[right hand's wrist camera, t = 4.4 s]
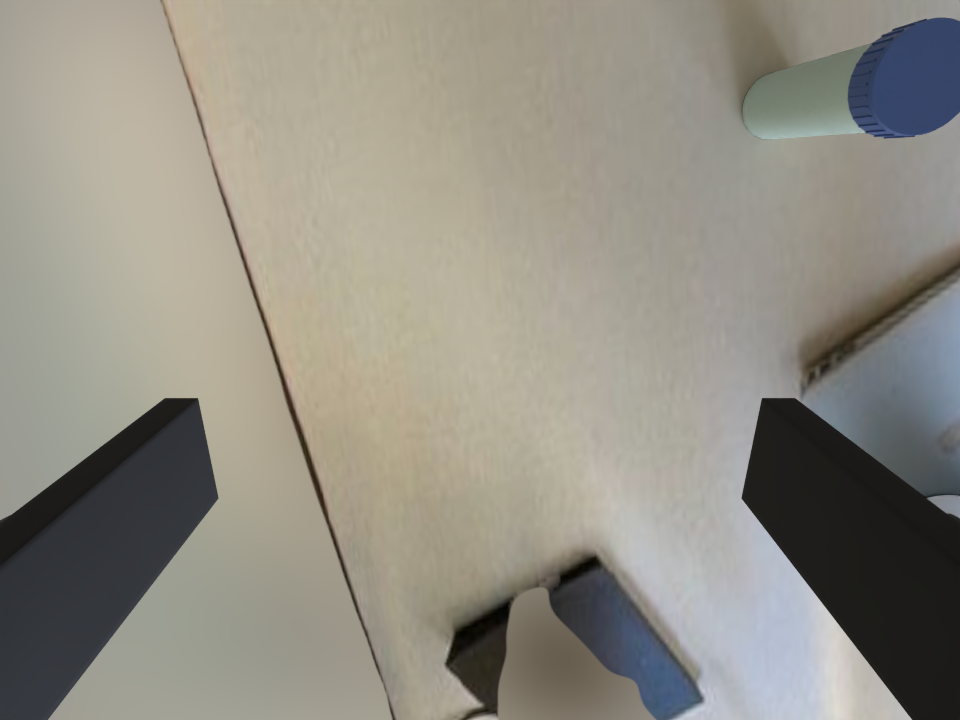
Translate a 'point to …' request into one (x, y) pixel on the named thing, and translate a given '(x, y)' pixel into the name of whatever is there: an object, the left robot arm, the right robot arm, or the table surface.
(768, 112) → the pale green bottle
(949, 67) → the lid
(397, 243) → the table surface
